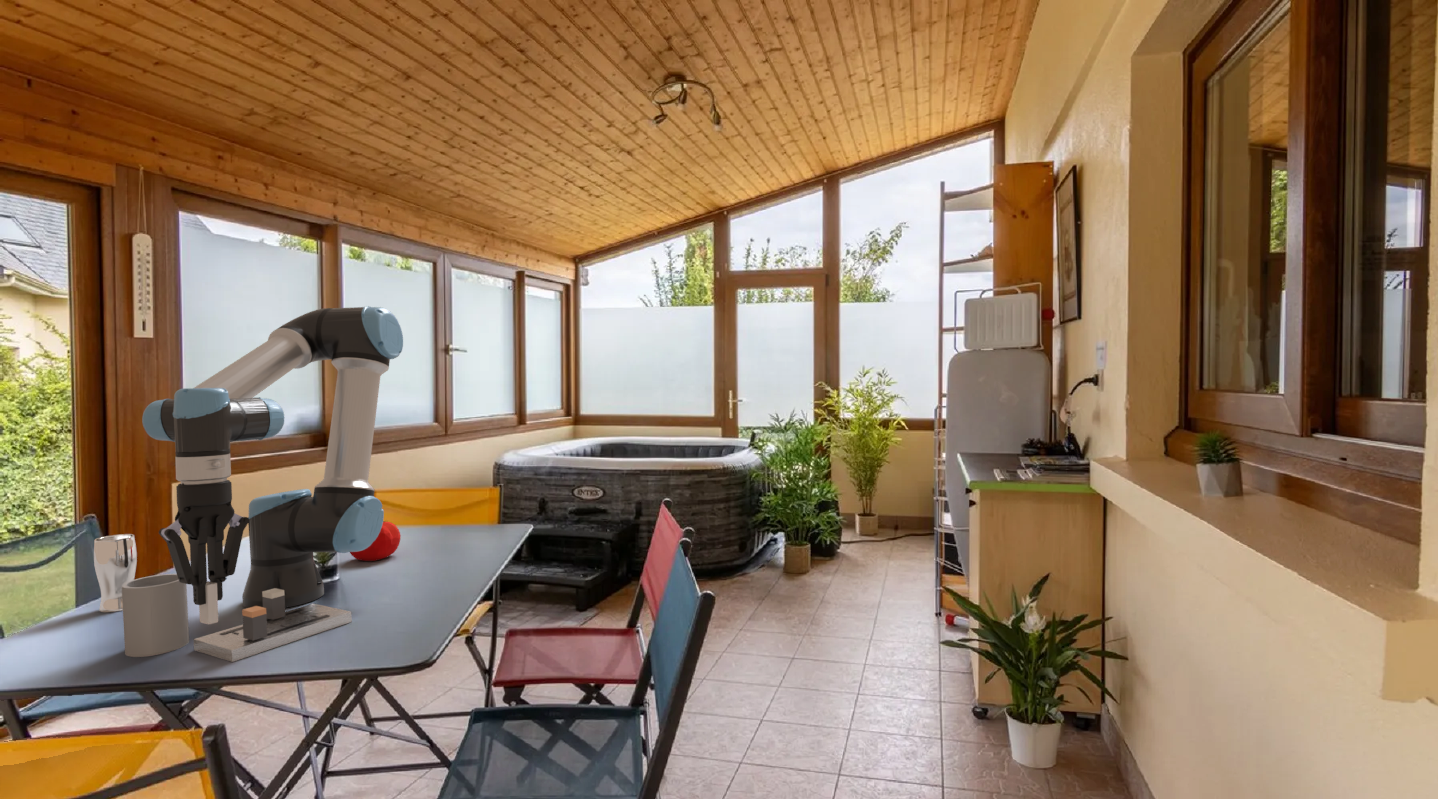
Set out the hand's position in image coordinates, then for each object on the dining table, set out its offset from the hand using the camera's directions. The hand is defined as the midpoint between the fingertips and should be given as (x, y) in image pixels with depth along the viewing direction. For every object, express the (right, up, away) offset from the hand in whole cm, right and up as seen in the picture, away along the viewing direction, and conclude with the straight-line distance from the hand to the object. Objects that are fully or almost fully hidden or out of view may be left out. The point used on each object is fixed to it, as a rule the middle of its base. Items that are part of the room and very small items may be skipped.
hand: (209, 621), depth 123 cm
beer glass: (-42, -7, +33) cm, 53 cm away
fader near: (+3, -5, +7) cm, 9 cm away
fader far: (0, -4, +18) cm, 18 cm away
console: (+3, -7, +14) cm, 16 cm away
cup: (-16, -8, +9) cm, 20 cm away
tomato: (-5, -5, +71) cm, 71 cm away
